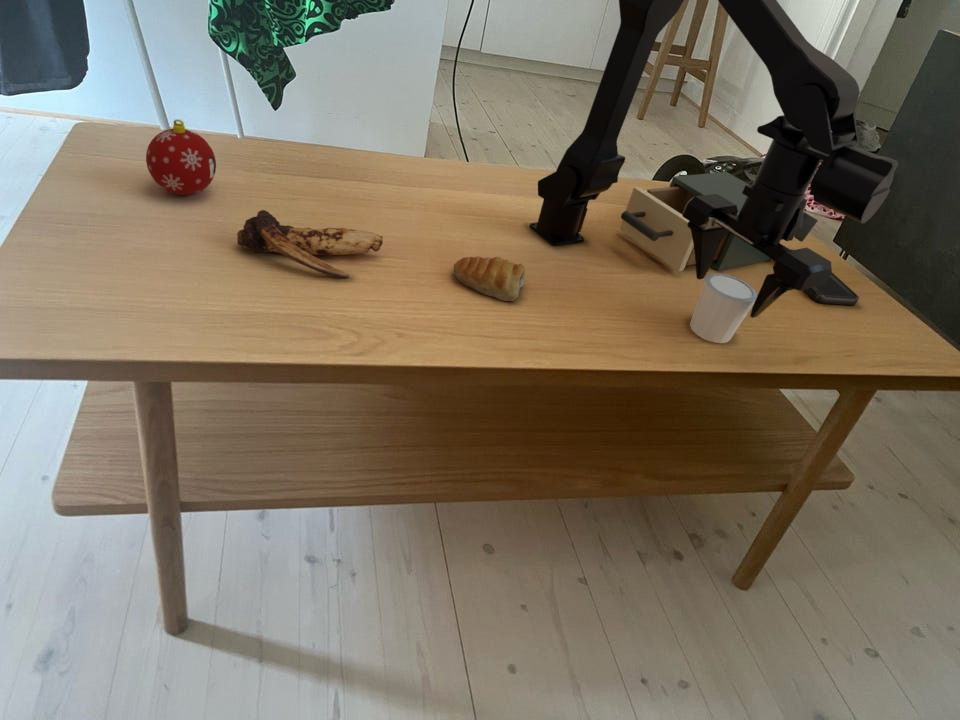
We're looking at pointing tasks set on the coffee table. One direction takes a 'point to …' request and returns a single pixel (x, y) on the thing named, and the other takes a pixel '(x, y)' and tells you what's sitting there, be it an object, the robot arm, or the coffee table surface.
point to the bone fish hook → (305, 242)
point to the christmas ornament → (180, 160)
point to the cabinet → (732, 189)
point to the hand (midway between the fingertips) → (725, 297)
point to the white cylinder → (721, 307)
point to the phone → (833, 292)
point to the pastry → (491, 276)
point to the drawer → (662, 225)
